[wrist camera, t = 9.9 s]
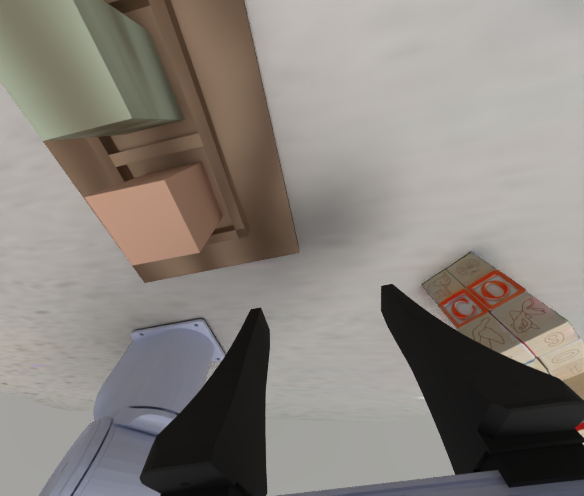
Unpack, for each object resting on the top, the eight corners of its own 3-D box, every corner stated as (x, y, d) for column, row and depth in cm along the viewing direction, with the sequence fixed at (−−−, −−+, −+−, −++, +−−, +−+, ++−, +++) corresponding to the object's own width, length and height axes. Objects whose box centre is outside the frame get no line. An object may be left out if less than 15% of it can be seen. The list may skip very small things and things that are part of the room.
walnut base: (149, 276, 23) (101, 332, 17) (-67, -38, 12) (-446, -212, 6) (298, 247, 22) (305, 295, 15) (214, -132, 10) (123, -476, 4)
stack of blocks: (418, 284, 25) (519, 405, 14) (470, 249, 23) (636, 361, 12) (491, 355, 33) (591, 468, 22) (535, 334, 30) (670, 448, 20)
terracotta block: (173, 226, 19) (132, 265, 14) (146, 173, 17) (84, 197, 11) (222, 216, 19) (199, 252, 13) (201, 161, 16) (164, 180, 11)
